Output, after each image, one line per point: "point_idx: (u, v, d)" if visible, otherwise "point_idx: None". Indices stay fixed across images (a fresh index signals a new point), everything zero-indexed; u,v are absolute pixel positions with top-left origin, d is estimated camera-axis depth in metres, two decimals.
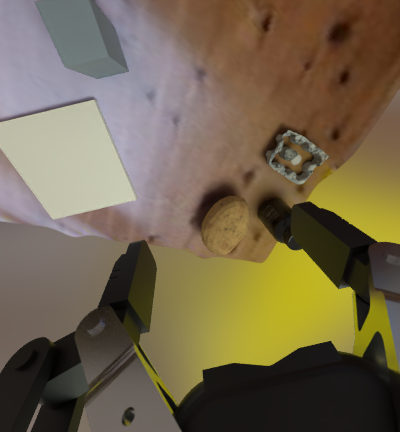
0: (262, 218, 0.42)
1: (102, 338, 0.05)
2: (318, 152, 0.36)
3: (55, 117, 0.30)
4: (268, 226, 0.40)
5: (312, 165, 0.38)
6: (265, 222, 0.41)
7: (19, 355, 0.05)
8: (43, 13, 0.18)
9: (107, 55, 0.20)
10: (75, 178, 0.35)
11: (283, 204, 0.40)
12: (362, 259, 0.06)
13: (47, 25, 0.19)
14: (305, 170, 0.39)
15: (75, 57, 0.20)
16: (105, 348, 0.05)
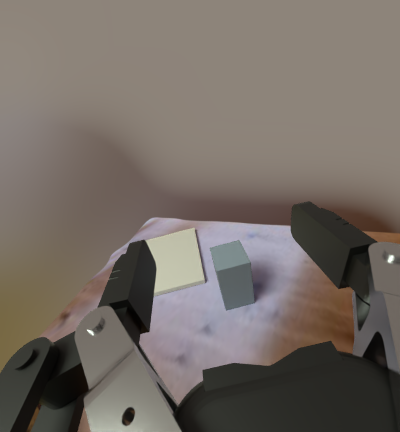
0: None
1: (102, 338, 0.05)
2: None
3: (195, 256, 0.42)
4: None
5: None
6: None
7: (19, 355, 0.05)
8: (235, 242, 0.30)
9: (216, 270, 0.26)
10: None
11: None
12: (362, 259, 0.06)
13: (229, 243, 0.30)
14: None
15: (214, 253, 0.29)
16: (105, 348, 0.05)
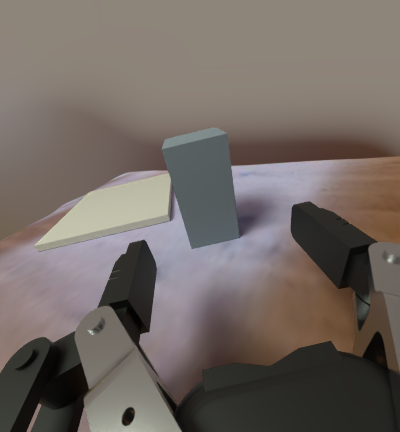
0: None
1: (102, 338, 0.05)
2: None
3: (163, 194, 0.30)
4: None
5: None
6: None
7: (19, 355, 0.05)
8: (207, 129, 0.18)
9: (162, 148, 0.14)
10: (107, 202, 0.32)
11: None
12: (362, 259, 0.06)
13: (198, 131, 0.18)
14: None
15: (170, 140, 0.17)
16: (105, 348, 0.05)
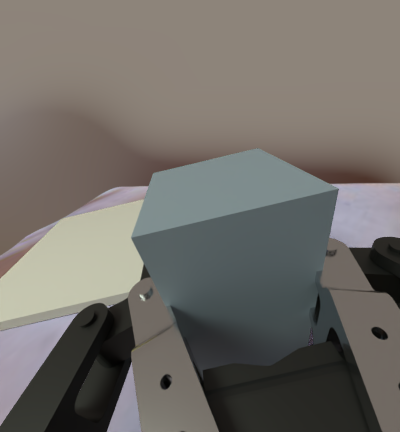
0: None
1: (149, 305, 0.06)
2: None
3: None
4: None
5: None
6: None
7: (84, 314, 0.06)
8: (242, 154, 0.08)
9: (135, 234, 0.05)
10: (79, 242, 0.23)
11: None
12: None
13: (223, 157, 0.09)
14: None
15: (162, 181, 0.07)
16: (160, 309, 0.06)
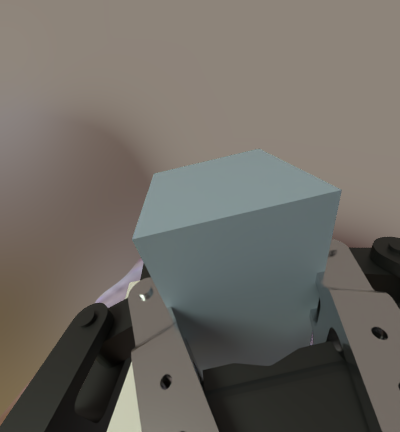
0: None
1: (149, 304, 0.06)
2: None
3: None
4: None
5: None
6: None
7: (84, 314, 0.06)
8: (243, 154, 0.08)
9: (136, 236, 0.04)
10: None
11: None
12: None
13: (224, 157, 0.08)
14: None
15: (163, 182, 0.07)
16: (160, 309, 0.06)
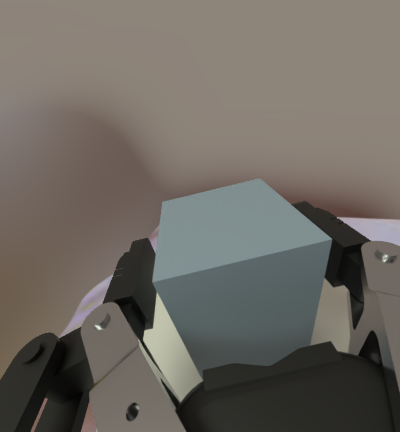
0: None
1: (107, 333, 0.05)
2: None
3: None
4: None
5: None
6: None
7: (26, 350, 0.05)
8: (245, 184, 0.09)
9: (156, 278, 0.05)
10: None
11: None
12: (355, 258, 0.06)
13: (228, 187, 0.09)
14: None
15: (172, 214, 0.08)
16: (111, 343, 0.05)
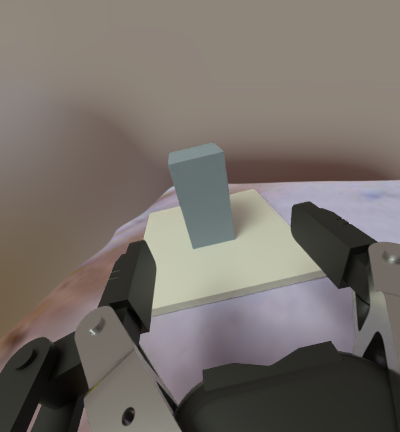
0: None
1: (102, 338, 0.05)
2: None
3: (278, 226, 0.22)
4: None
5: None
6: None
7: (19, 355, 0.05)
8: (206, 144, 0.20)
9: (169, 164, 0.16)
10: None
11: None
12: (362, 259, 0.06)
13: (198, 146, 0.20)
14: None
15: (174, 154, 0.19)
16: (105, 348, 0.05)
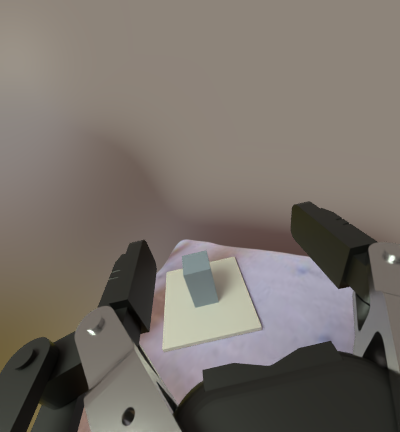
0: None
1: (102, 338, 0.05)
2: None
3: (243, 294, 0.39)
4: None
5: None
6: None
7: (19, 355, 0.05)
8: (202, 252, 0.37)
9: (183, 274, 0.33)
10: None
11: None
12: (362, 259, 0.06)
13: (198, 252, 0.37)
14: None
15: (185, 260, 0.36)
16: (105, 348, 0.05)
